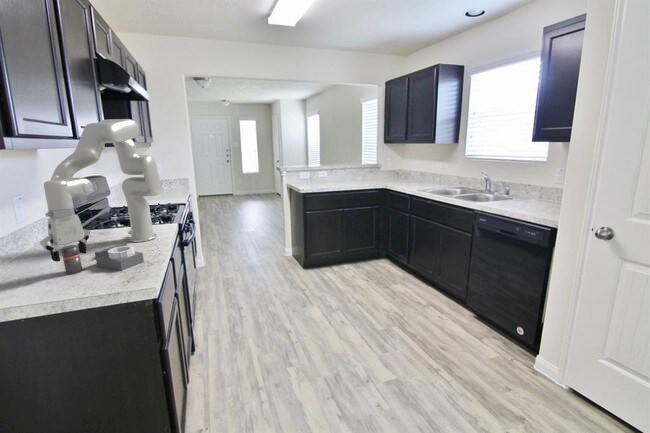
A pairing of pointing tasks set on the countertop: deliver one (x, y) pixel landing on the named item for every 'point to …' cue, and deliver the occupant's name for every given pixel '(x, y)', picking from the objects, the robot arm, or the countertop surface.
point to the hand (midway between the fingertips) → (70, 257)
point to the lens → (71, 259)
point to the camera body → (118, 257)
